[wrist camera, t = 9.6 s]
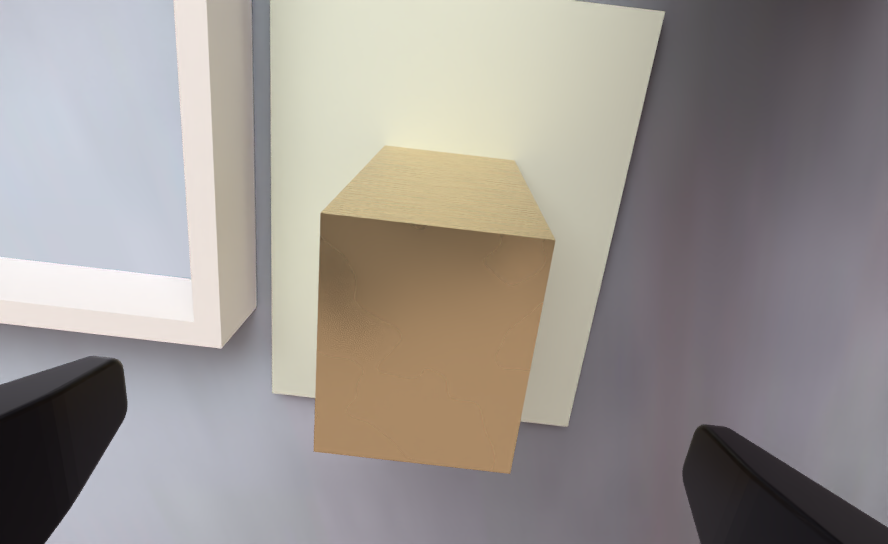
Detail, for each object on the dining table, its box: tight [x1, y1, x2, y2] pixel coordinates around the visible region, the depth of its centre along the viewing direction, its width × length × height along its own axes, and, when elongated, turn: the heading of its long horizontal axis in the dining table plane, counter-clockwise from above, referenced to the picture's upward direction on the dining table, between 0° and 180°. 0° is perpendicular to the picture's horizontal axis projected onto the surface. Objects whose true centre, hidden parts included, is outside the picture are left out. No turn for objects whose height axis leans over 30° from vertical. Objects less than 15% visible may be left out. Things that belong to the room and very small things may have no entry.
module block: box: [314, 145, 556, 474], centre depth 14 cm, size 4×5×8 cm
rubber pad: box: [270, 0, 665, 427], centre depth 18 cm, size 11×14×1 cm
